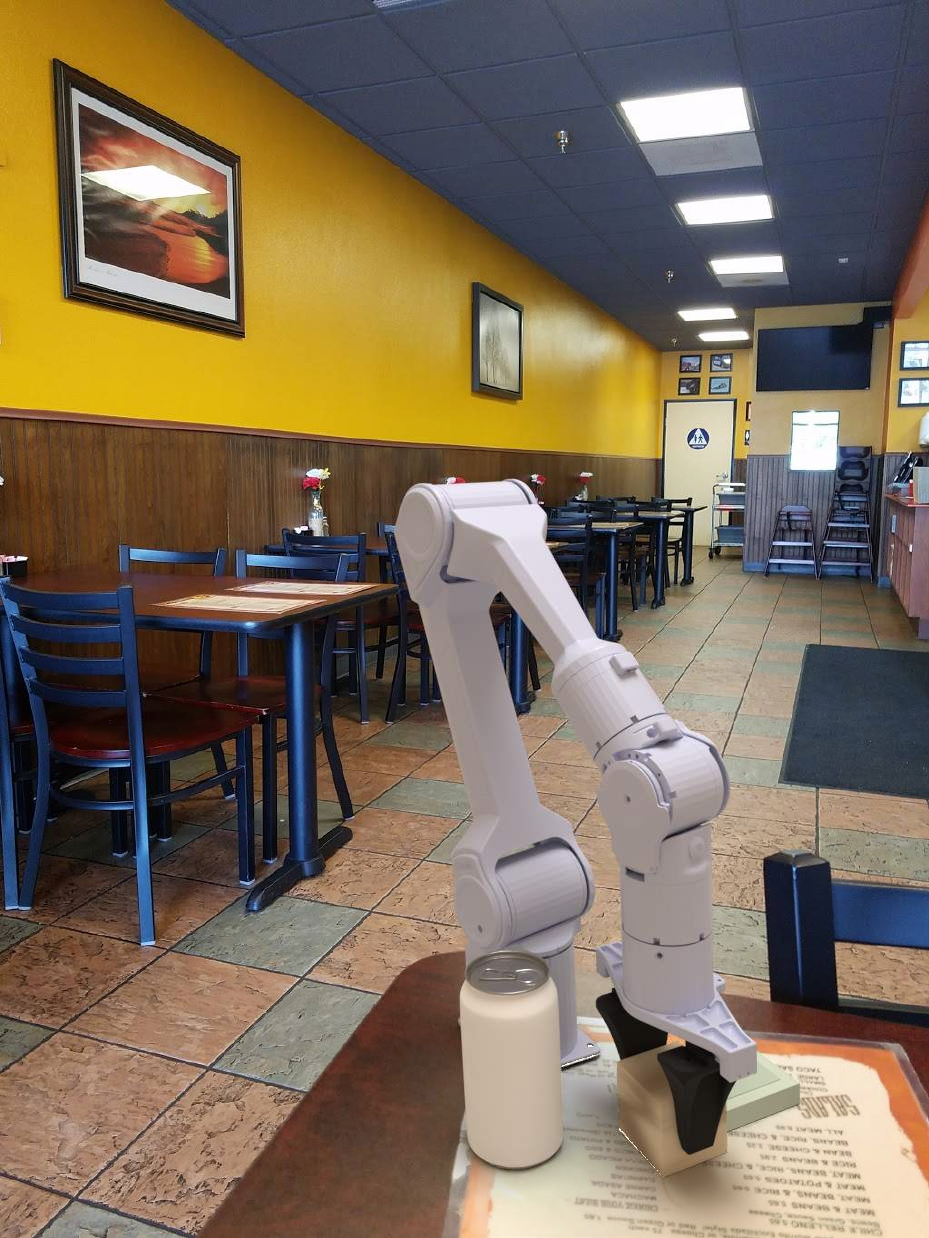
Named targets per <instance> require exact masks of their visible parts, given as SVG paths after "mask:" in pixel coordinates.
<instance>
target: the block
mask: <svg viewBox="0 0 929 1238" xmlns="http://www.w3.org/2000/svg"><path fill="white" fill-rule="evenodd" d="M682 1045H683V1046H685V1045H684V1044H683V1043H682V1042H680V1040H676V1041H674V1042H671V1043H667V1045H664V1046H661V1047H658V1048H655V1049H652V1050H650V1051H647V1052H644V1053H641V1054H638V1055H635V1056H632V1057H629V1058H626V1059H623V1060H620V1059H619V1060H617V1061H616V1086H617V1087H616V1088H617V1090H616V1091H617V1117H618V1121H617V1122H618V1129H619V1128H620V1129H621V1131H623V1132H624V1133H625V1134H626V1136H627V1137H628V1138H629V1140H630V1141H631V1142H633V1144H634V1145H635V1146H636V1147H637V1149H638V1150H639V1151H641V1152H642V1154H643V1155H644V1156H645V1157H646V1159H648V1161H649V1162H650V1163H651V1164H652V1166H654V1167H655V1169H656V1170H658V1172H659V1173H660V1174H661V1175H660V1174H659V1173H658V1172H657V1173H658V1174H659V1175H660V1177H662V1176H663V1177H664V1178H666V1177H668V1176H667V1175H669V1174H670V1175H669V1176H671V1175H673V1174H676V1173H678V1172H681V1171H683V1170H685V1169H688V1168H691V1167H693V1166H695V1165H699V1164H701V1163H703V1162H706V1161H708V1160H711V1159H713V1158H715V1157H718V1156H720V1155H723V1154H726V1153H727V1152H728V1132H727V1106H726V1103H725V1106H724V1109H723V1112H722V1115H721V1119H720V1122H719V1126H718V1130H717V1133H716V1137H715V1141H714V1145H713V1146H712V1147H709V1148H707V1149H704V1150H701V1151H699V1152H696V1153H694V1154H691V1155H688V1154H687V1153H686V1152H685V1151H684V1150H683V1149H682V1147H681V1144H680V1141H679V1137H678V1132H677V1125H676V1115H675V1106H674V1101H673V1097H672V1092H671V1089H670V1086H669V1083H668V1080H667V1078H666V1075H665V1073H664V1071H663V1069H662V1067H661V1065H660V1063H659V1062H658V1060H657V1054H658V1053H661V1052H664V1051H667V1050H670V1049H673V1048H676V1047H679V1046H682ZM637 1149H636V1150H637ZM646 1159H645V1160H646ZM648 1161H647V1162H648ZM649 1162H648V1163H649ZM650 1163H649V1164H650ZM651 1164H650V1165H651ZM652 1166H651V1167H652ZM655 1169H654V1170H655ZM656 1170H655V1171H656ZM663 1177H662V1178H663Z"/></svg>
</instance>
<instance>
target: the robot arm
mask: <svg viewBox="0 0 929 1238" xmlns="http://www.w3.org/2000/svg"><path fill="white" fill-rule="evenodd" d="M404 495H405V496H404V497H403V499H402V502H401V504H400V508H399V512H398V516H397V519H396V522H395V526H394V529H393V534H394V539H395V542H396V546H397V547H396V548H397V550H398V554H399V558H400V561H401V566H402V569H403V573H404V579H405V582H406V585H407V589H408V593H409V597H410V599H411V601H412V602H415V603H416V604H417V605H418V607H419V613H420V616H421V619H422V623H423V627H424V631H425V635H426V639H427V643H428V646H429V647H428V648H429V651H430V656H431V659H432V663H433V667H434V671H435V674H436V675H435V676H436V679H437V682H438V686H439V691H440V695H441V699H442V702H443V706H444V709H445V714H446V717H447V721H448V726H449V729H450V733H451V737H452V738H451V739H452V741H453V745H454V749H455V752H456V753H455V754H456V757H457V761H458V764H459V768H460V772H461V776H462V780H463V784H464V788H465V792H466V795H467V800H468V804H469V807H470V812H471V815H472V822H471V824H470V825H469V827H468V829H467V830H466V831H465V833H463V836H462V837H461V838H460V840H459V841H458V843H457V844H455V847H454V848H453V849H452V851H451V853H450V856H449V858H450V863H451V867H452V872H453V880H454V881H453V883H454V888H453V889H454V891H453V905H454V906H453V907H454V911H455V915H456V918H457V921H458V924H459V926H460V928H461V930H462V931H463V933H464V935H465V936H466V937H467V940H466V944H465V950H464V951H465V953H464V954H465V968H466V967H467V965H468V964H469V963H470V962H471V961H473V960H474V959H476V958H477V957H479V956H482V955H484V954H487V953H491V952H496V951H504V950H515V951H523V952H528V953H532V954H534V955H537V956H539V957H541V958H542V959H544V960H545V961H546V962H547V963H548V965H549V967H550V971H551V972H550V977H551V978H552V980H553V982H554V984H555V986H556V989H557V994H558V1008H559V1030H560V1054H561V1066H562V1065H565V1064H567V1063H571V1062H573V1061H576V1060H579V1059H582V1058H587V1057H590V1056H592V1055H597V1054H599V1053H600V1054H601V1047H600V1046H599V1045H598V1044H597V1043H596V1042H595V1041H593V1039H591V1038H590V1037H589V1036H588V1034H586V1033H585V1032H584V1030H582V1029H581V1028H580V1027H579V1026H578V1015H577V1014H578V1013H577V1009H578V1008H577V985H576V963H575V961H576V960H575V959H576V958H575V938H574V937H575V936H576V935H577V934H578V933H581V932H582V922H581V918H582V917H584V916H586V915H587V914H589V913H590V910H592V907H593V905H594V901H595V896H596V884H595V878H594V873H593V869H592V867H591V865H590V863H589V861H588V859H587V858H586V856H585V854H584V852H583V851H582V849H581V848H580V847H579V844H578V842H577V840H576V838H575V834H574V830H573V827H572V826H573V825H572V823H571V822H570V821H569V820H568V819H566V817H563V816H562V815H560V814H558V813H556V812H554V811H552V810H551V809H549V808H547V806H544V805H542V803H541V802H540V799H539V795H538V794H539V793H538V790H537V787H536V782H535V780H534V776H533V773H532V772H533V771H532V769H531V764H530V760H529V758H528V753H527V749H526V745H525V742H524V739H523V735H522V732H521V727H520V724H519V721H518V716H517V713H516V709H515V705H514V701H513V698H512V693H511V690H510V687H509V683H508V678H507V676H506V671H505V668H504V663H503V661H502V656H501V652H500V649H499V645H498V641H497V638H496V635H495V630H494V627H493V624H492V623H493V622H492V619H491V615H490V607H491V606H492V603H493V602H494V601H493V600H495V599H494V598H495V597H496V595H498V594H499V593H500V592H501V593H502V595H503V596H504V597H505V598H506V599H507V601H508V603H509V604H510V606H511V607H512V608H513V609H514V611H515V613H517V615H518V616H519V618H520V619H521V621H522V622H523V623H524V624H525V627H527V629H528V630H529V631H530V632H531V634H532V635H533V637H534V638H535V639H536V641H537V642H538V644H539V645H540V646H541V648H542V649H543V650H544V652H545V653H546V655H547V656H548V658H549V659H550V660H551V661H552V662H553V665H554V668H553V674H552V678H551V682H550V683H551V684H550V686H551V687H550V689H551V694H552V695H553V696H554V698H555V700H556V702H557V703H558V705H559V706H560V708H561V709H562V712H563V713H564V715H565V716H566V718H567V720H568V722H569V723H570V724H571V726H572V728H573V729H574V731H575V733H576V734H577V736H578V738H579V739H580V741H581V743H582V744H583V746H584V748H585V749H586V751H587V753H588V754H589V756H590V758H591V759H592V761H593V762H594V765H596V768H597V769H598V770H599V772H600V774H601V775H602V778H601V782H600V783H601V784H600V785H598V786H596V787H595V795H596V800H597V804H598V808H599V811H600V813H601V815H602V817H603V819H604V821H605V823H606V825H607V827H608V830H609V832H610V833H609V834H610V838H611V839H610V841H611V852H612V853H613V854H614V858H615V861H616V862H617V863H618V864H619V881H620V882H619V883H620V885H619V886H620V916H621V917H620V920H621V926H620V927H621V928H620V929H621V941H620V940H617V941H613V942H610V943H604V944H603V945H602V944H601V945H599V946H596V947H595V964H596V965H595V966H596V967H595V968H596V974H598V975H600V976H601V977H602V978H605V979H607V978H610V980H611V982H612V983H611V984H613V985H612V986H613V987H611V992H608V993H604V994H600V996H598V997H596V999H595V1008H596V1010H597V1012H598V1013H599V1015H600V1017H601V1018H602V1019H603V1021H604V1023H605V1025H606V1027H607V1029H608V1031H609V1033H610V1035H611V1038H612V1040H613V1043H614V1046H615V1048H616V1051H617V1054H618V1057H619V1061H620V1060H623V1059H626V1058H629V1057H632V1056H635V1055H638V1054H641V1053H644V1052H647V1051H650V1050H652V1049H655V1048H658V1047H661V1046H664V1045H667V1044H668V1038H669V1034H670V1035H672V1036H675V1037H677V1038H680V1039H681V1040H683V1041H684V1042H685V1043H684V1044H685V1045H684V1044H683V1045H684V1046H683V1045H682V1046H679V1047H676V1048H673V1049H670V1050H667V1051H664V1052H661V1053H658V1054H657V1060H658V1062H659V1063H660V1065H661V1067H662V1069H663V1071H664V1073H665V1075H666V1078H667V1080H668V1083H669V1086H670V1089H671V1092H672V1097H673V1101H674V1106H675V1115H676V1125H677V1132H678V1137H679V1141H680V1144H681V1147H682V1149H683V1150H684V1151H685V1152H686V1153H687V1154H688V1155H691V1154H694V1153H696V1152H699V1151H701V1150H704V1149H707V1148H709V1147H712V1146H713V1145H714V1141H715V1137H716V1133H717V1130H718V1126H719V1122H720V1119H721V1115H722V1112H723V1109H724V1106H725V1103H726V1101H727V1098H728V1096H729V1094H730V1092H731V1090H732V1088H733V1086H734V1084H735V1083H736V1081H737V1080H740V1079H743V1078H746V1077H748V1076H750V1075H753V1074H756V1073H757V1051H758V1043H757V1042H756V1041H754V1040H753V1039H752V1038H751V1037H750V1036H748V1034H746V1032H745V1031H744V1030H743V1029H742V1027H741V1026H740V1024H739V1023H738V1021H737V1020H736V1018H735V1016H734V1015H733V1014H732V1012H731V1011H730V1009H729V1008H728V1006H727V1004H726V1002H725V1001H724V999H723V997H722V996H721V995H720V994H722V993H724V992H726V980H725V979H724V977H722V976H720V975H719V974H717V973H716V972H714V932H713V930H714V928H713V927H714V925H713V924H714V922H713V921H714V920H713V919H714V918H713V867H712V866H713V864H712V863H713V859H712V853H713V852H712V823H711V822H710V821H711V820H713V819H715V818H717V817H718V816H721V814H722V813H723V812H724V810H725V809H726V808H727V805H728V803H729V801H730V796H731V778H730V773H729V771H728V770H729V769H728V768H727V765H726V762H725V760H724V759H723V757H722V755H721V753H720V751H719V748H718V746H717V744H715V743H714V742H713V741H712V740H711V739H710V738H708V737H707V736H705V735H703V734H701V733H700V732H696V731H693V730H691V729H690V728H688V727H687V726H686V725H685V723H684V721H680V720H679V719H677V718H676V719H673V718H672V716H671V714H670V713H669V712H668V710H667V708H666V706H665V705H664V704H663V703H662V701H661V700H660V698H659V696H658V695H657V693H656V692H655V691H654V689H653V688H652V686H651V685H650V683H649V681H648V680H647V678H646V677H645V675H644V674H643V673H642V671H641V670H640V663H639V662H638V661H637V659H636V658H635V656H634V655H633V653H632V652H631V651H628V650H627V649H626V648H625V646H624V645H622V644H620V643H618V642H613V641H608V640H604V639H602V638H601V639H600V638H598V636H597V634H596V632H595V630H594V628H593V627H592V625H591V623H590V620H589V619H588V618H587V615H586V613H585V612H584V610H583V609H582V607H581V604H580V603H579V601H578V599H577V598H576V596H575V594H574V592H573V590H572V588H571V587H570V585H569V582H568V581H567V579H566V578H565V575H564V574H563V572H562V570H561V568H560V567H559V565H558V563H557V561H556V559H555V558H554V555H553V553H552V551H551V550H550V549H549V547H548V544H547V542H546V541H547V531H548V515H547V513H546V512H545V510H544V509H543V508H542V507H541V506H540V505H539V504H538V500H537V499H536V497H535V494H534V493H533V490H531V488H530V487H529V486H528V485H527V484H526V483H525V482H523V481H522V480H520V479H516V478H507V479H503V480H501V481H487V482H485V481H484V482H468V483H467V482H466V483H465V482H464V483H461V482H460V483H446V484H432V483H425V482H423V483H416V484H414V485H412V486H411V487H410V488H409V489H408V490H407V491H406V493H405V494H404ZM529 845H532V847H529V848H527V849H523V850H521V851H518V852H515V853H512V854H509V855H507V856H503V855H506V853H509V852H512V851H515V850H517V849H521V848H523V847H526V846H529ZM502 856H503V857H502ZM457 1021H458V1022H457V1023H458V1025H459V1026H460V1027H461V1018H460V1017H458V1019H457ZM588 1045H592V1046H593V1047H588Z"/></svg>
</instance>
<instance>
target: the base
mask: <svg viewBox="0 0 929 1238" xmlns="http://www.w3.org/2000/svg"><path fill="white" fill-rule="evenodd" d="M799 1104H801V1083H800V1081H798V1080H796V1079H795V1078H793V1077H792V1076H791V1075H790V1074H788V1073H787V1072H786V1071H785V1070H783V1069H782V1068H780V1067H779V1066H778V1065H776V1064H775V1063H774V1062H773V1061H771V1060H770V1059H768V1058H767V1057H766V1056H764V1055H763V1054H762V1053H760V1052H759V1051H758V1050H757V1073H756V1074H753V1075H750V1076H748V1077H746V1078H743V1079H740V1080H737V1081H736V1083H735V1084H734V1086H733V1088H732V1090H731V1092H730V1094H729V1096H728V1098H727V1101H726V1106H727V1133H728V1132H731V1131H733V1130H735V1129H737V1128H740V1127H744V1126H745V1125H749V1124H751V1123H753V1122H756V1121H758V1120H761V1119H764V1118H766V1117H768V1116H771V1115H775V1114H776V1113H778V1112H781V1111H783V1110H787V1109H789V1108H791V1107H793V1106H797V1105H799Z"/></svg>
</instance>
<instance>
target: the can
mask: <svg viewBox="0 0 929 1238" xmlns="http://www.w3.org/2000/svg"><path fill="white" fill-rule="evenodd" d="M550 972H551V971H550V967H549V965H548V963H547V962H546V961H545V960H544V959H542V958H541V957H539V956H537V955H534V954H532V953H528V952H523V951H515V950H504V951H496V952H491V953H487V954H484V955H482V956H479V957H477V958H476V959H474V960H473V961H471V962H470V963H469V964H468V965H467V967H466V966H465V969H464V978H465V979H464V982H463V984H462V986H461V989H460V992H459V1013H460V1016H459V1018H461V1026H460V1033H461V1034H460V1036H461V1053H462V1055H461V1056H462V1072H463V1088H464V1104H465V1105H464V1107H465V1121H466V1122H465V1123H466V1134H467V1136H466V1137H467V1142H468V1144H469V1147H470V1148H471V1149H472V1151H473V1152H474V1153H475V1155H477V1156H478V1157H479V1158H480V1159H481V1160H482V1161H484V1162H485V1163H487V1164H489V1165H490V1166H494V1167H497V1168H500V1169H504V1170H505V1169H506V1170H524V1169H530V1168H533V1167H537V1166H538V1165H542V1164H543V1163H545V1162H547V1161H548V1160H549V1159H550V1158H551V1157H552V1156H554V1154H555V1153H557V1151H558V1150H559V1149H560V1147H561V1146H562V1143H563V1139H564V1118H563V1117H564V1113H563V1111H564V1110H563V1088H562V1085H563V1083H562V1068H561V1054H560V1030H559V1008H558V994H557V989H556V986H555V984H554V982H553V980H552V978H551V977H550Z"/></svg>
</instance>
